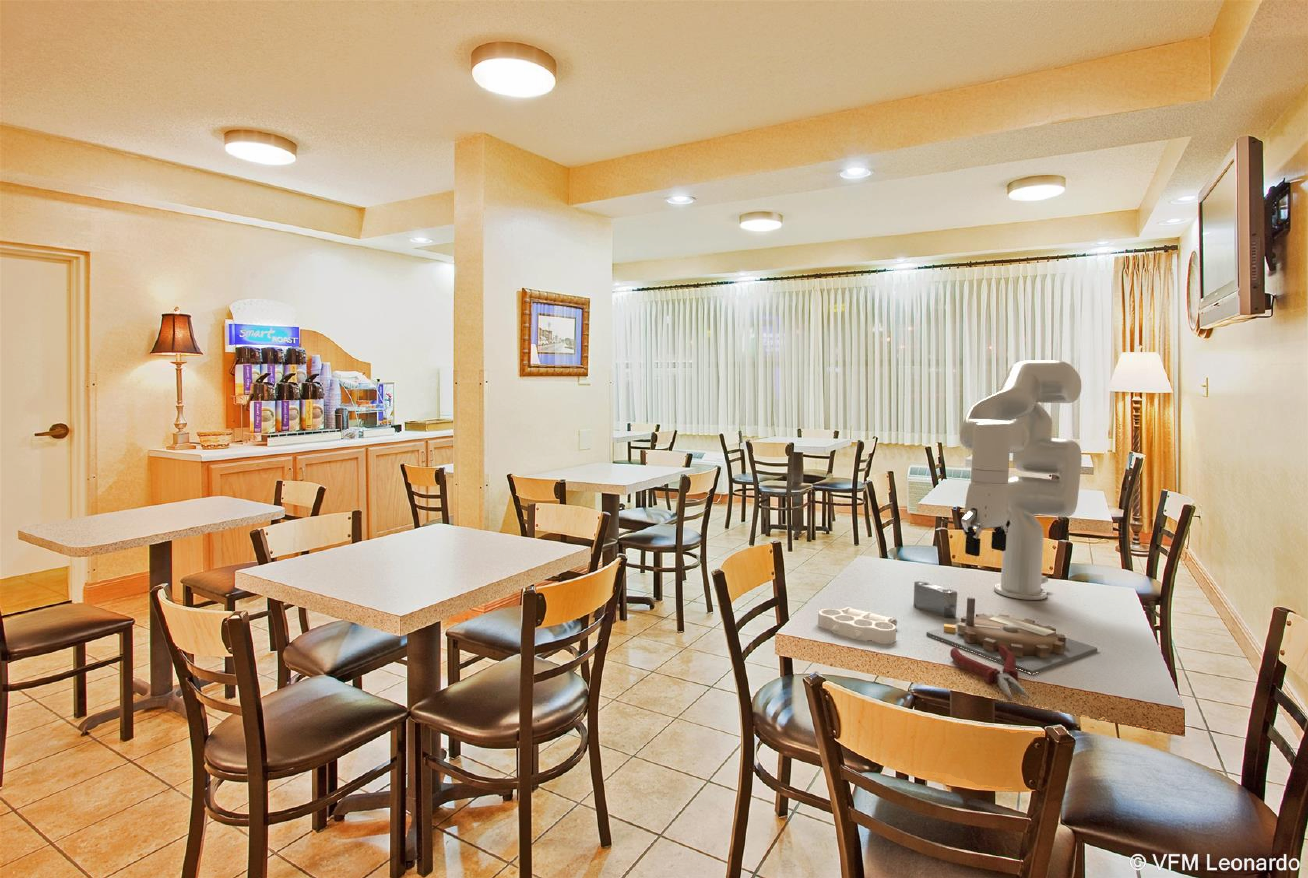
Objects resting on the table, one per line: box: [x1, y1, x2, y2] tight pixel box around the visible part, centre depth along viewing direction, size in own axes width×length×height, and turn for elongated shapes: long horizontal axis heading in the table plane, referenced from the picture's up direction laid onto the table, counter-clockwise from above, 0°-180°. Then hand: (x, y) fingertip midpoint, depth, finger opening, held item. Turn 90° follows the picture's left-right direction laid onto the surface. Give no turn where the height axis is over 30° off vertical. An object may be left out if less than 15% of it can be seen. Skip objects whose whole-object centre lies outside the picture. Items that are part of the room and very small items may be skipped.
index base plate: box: [925, 613, 1098, 674], centre depth 150 cm, size 24×24×2 cm
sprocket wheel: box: [957, 596, 1067, 658], centre depth 150 cm, size 21×21×8 cm
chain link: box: [912, 580, 958, 619], centre depth 171 cm, size 3×11×6 cm, turn 31°
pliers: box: [949, 646, 1030, 700], centre depth 131 cm, size 12×20×3 cm, turn 175°
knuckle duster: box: [817, 606, 898, 645], centre depth 157 cm, size 3×18×15 cm
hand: (985, 552), depth 156 cm, fingers open, 9 cm apart
